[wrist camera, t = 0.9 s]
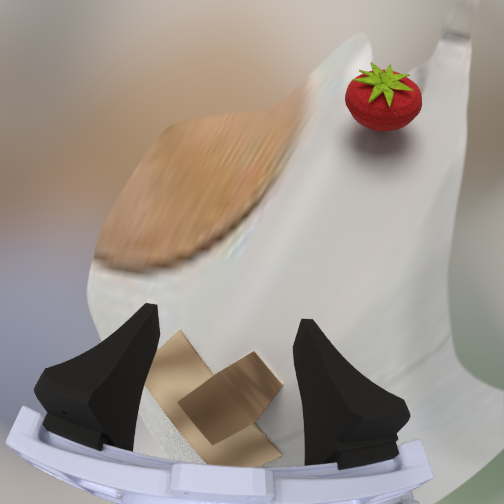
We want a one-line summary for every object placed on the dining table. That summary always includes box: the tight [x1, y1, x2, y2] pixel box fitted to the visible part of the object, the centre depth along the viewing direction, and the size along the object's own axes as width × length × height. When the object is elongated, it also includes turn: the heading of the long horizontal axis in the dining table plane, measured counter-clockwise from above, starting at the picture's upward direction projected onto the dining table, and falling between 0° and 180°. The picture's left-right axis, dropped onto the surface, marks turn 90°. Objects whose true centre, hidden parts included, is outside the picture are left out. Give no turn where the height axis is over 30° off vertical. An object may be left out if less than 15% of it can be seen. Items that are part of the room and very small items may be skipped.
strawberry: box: [345, 62, 422, 131], centre depth 20 cm, size 6×8×10 cm
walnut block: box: [177, 351, 283, 446], centre depth 22 cm, size 4×4×9 cm
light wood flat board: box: [145, 330, 282, 467], centre depth 27 cm, size 18×9×1 cm, turn 40°
